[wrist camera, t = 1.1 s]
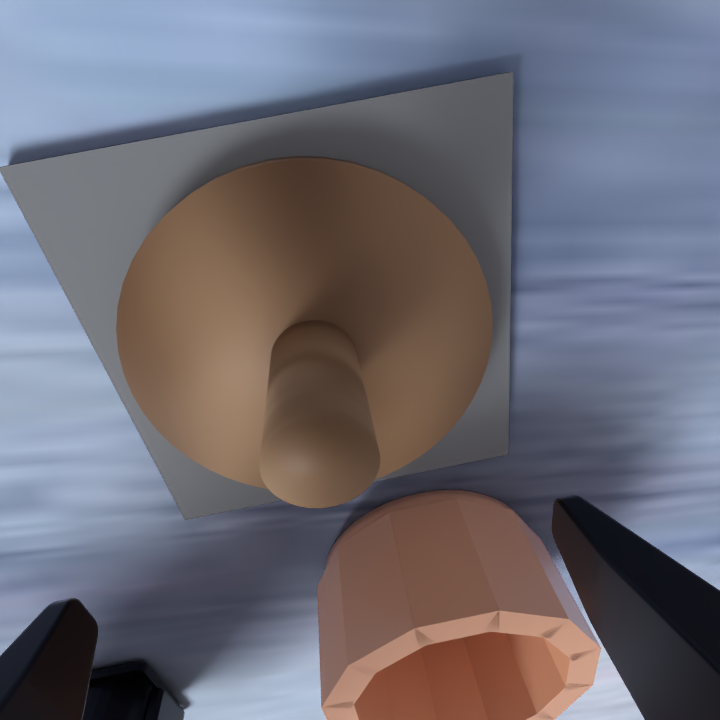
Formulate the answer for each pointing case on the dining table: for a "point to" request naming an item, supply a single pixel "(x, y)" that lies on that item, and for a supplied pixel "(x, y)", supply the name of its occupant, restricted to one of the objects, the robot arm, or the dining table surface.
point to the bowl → (448, 617)
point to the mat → (269, 141)
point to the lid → (304, 327)
